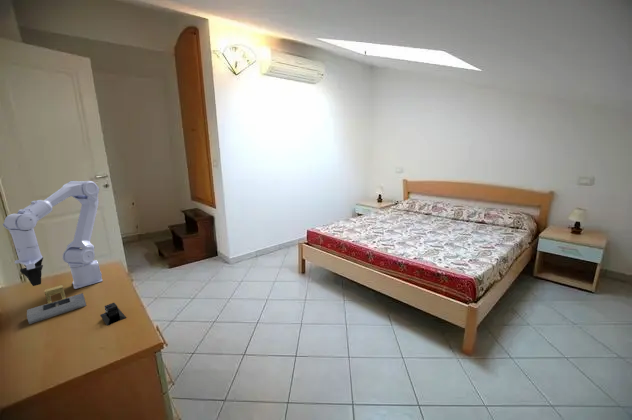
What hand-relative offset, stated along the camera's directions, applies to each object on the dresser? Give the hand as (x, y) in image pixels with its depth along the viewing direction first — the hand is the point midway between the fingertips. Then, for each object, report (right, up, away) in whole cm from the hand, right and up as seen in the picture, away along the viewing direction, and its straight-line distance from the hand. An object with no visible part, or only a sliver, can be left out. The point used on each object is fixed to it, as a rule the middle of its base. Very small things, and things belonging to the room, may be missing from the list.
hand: (37, 281), depth 103 cm
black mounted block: (+32, -11, -6) cm, 35 cm away
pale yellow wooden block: (+5, -9, +3) cm, 10 cm away
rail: (+10, -10, -3) cm, 15 cm away
